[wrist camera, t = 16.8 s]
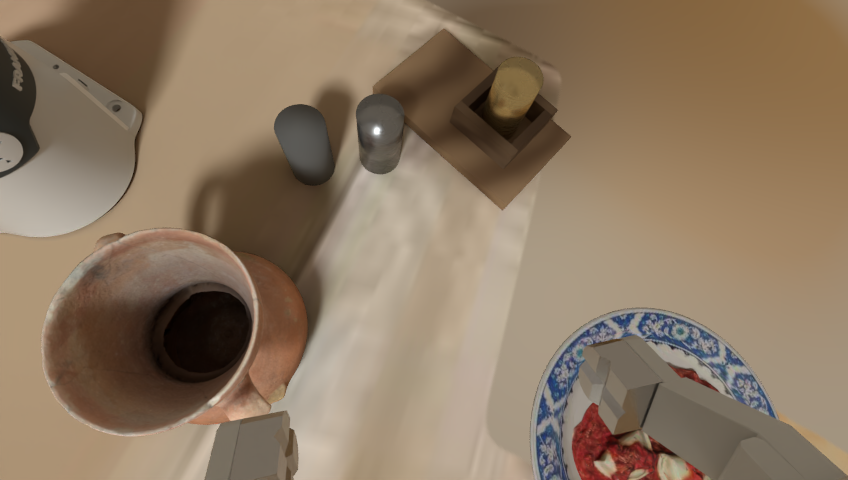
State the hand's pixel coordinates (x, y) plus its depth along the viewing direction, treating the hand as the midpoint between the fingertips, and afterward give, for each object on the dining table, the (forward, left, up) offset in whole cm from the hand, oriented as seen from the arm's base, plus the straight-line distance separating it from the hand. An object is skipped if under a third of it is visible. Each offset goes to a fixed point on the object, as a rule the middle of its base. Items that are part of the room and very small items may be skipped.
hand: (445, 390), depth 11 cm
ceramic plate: (+24, +12, -29) cm, 39 cm away
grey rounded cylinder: (-20, +9, -29) cm, 36 cm away
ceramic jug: (-13, -8, -29) cm, 33 cm away
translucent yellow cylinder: (-9, +27, -27) cm, 39 cm away
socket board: (-12, +26, -29) cm, 40 cm away
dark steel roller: (-16, +15, -29) cm, 36 cm away
